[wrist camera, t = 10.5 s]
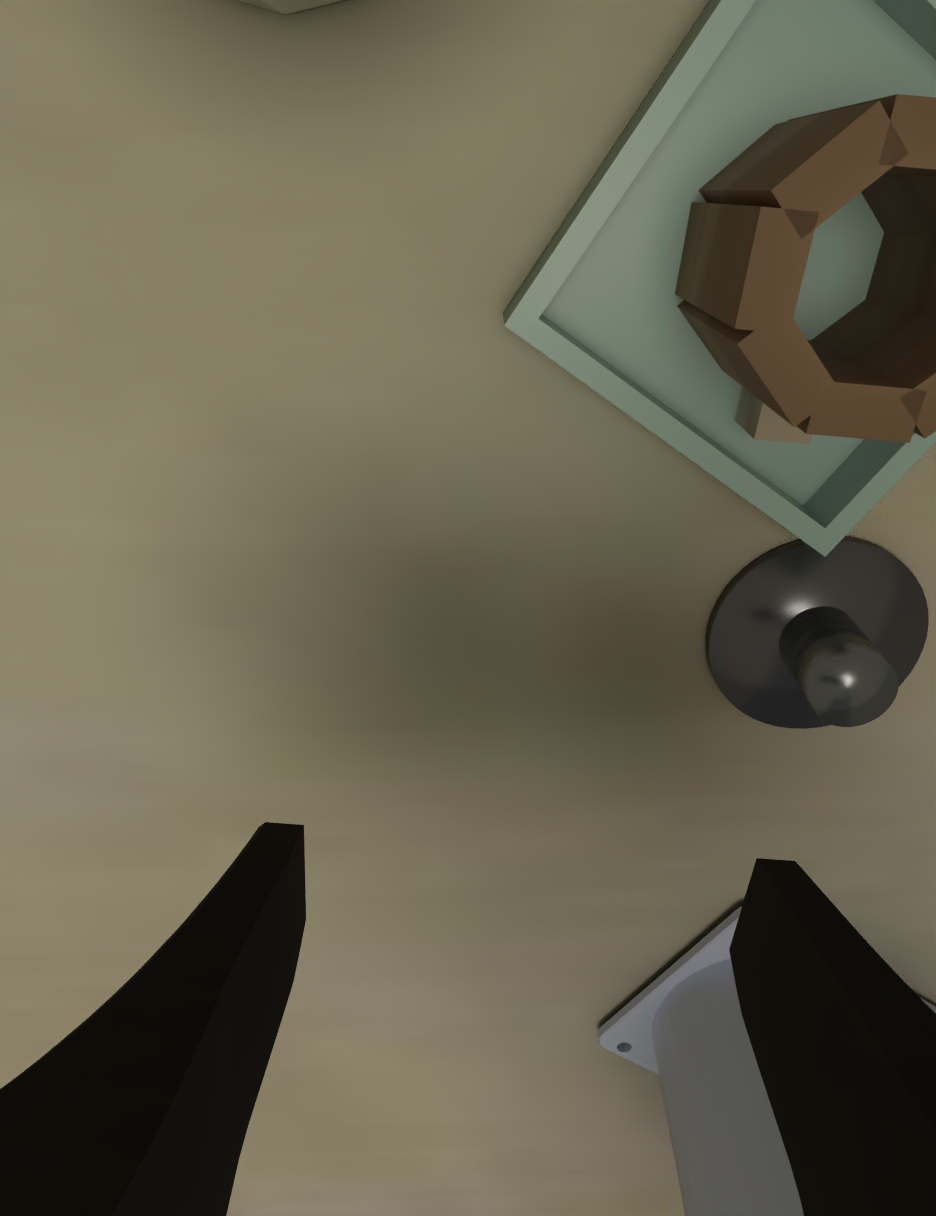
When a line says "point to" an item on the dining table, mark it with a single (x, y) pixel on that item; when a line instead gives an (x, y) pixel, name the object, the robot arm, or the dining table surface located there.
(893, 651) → the dark grey round stand
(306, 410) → the dining table surface
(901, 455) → the tray
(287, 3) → the white cup
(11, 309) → the dining table surface
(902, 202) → the brown hollow octagonal cylinder
